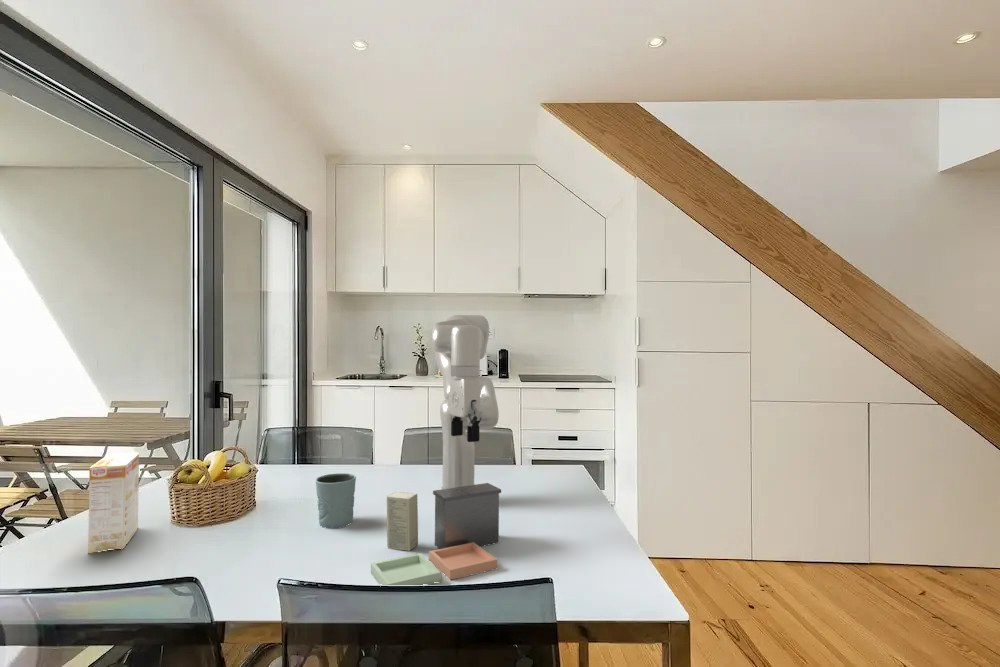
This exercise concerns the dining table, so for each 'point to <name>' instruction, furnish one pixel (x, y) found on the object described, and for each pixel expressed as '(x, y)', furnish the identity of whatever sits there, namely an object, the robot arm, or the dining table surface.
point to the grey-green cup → (335, 499)
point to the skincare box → (402, 521)
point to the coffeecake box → (113, 501)
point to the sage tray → (406, 571)
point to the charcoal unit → (467, 515)
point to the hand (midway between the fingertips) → (464, 438)
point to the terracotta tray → (462, 560)
